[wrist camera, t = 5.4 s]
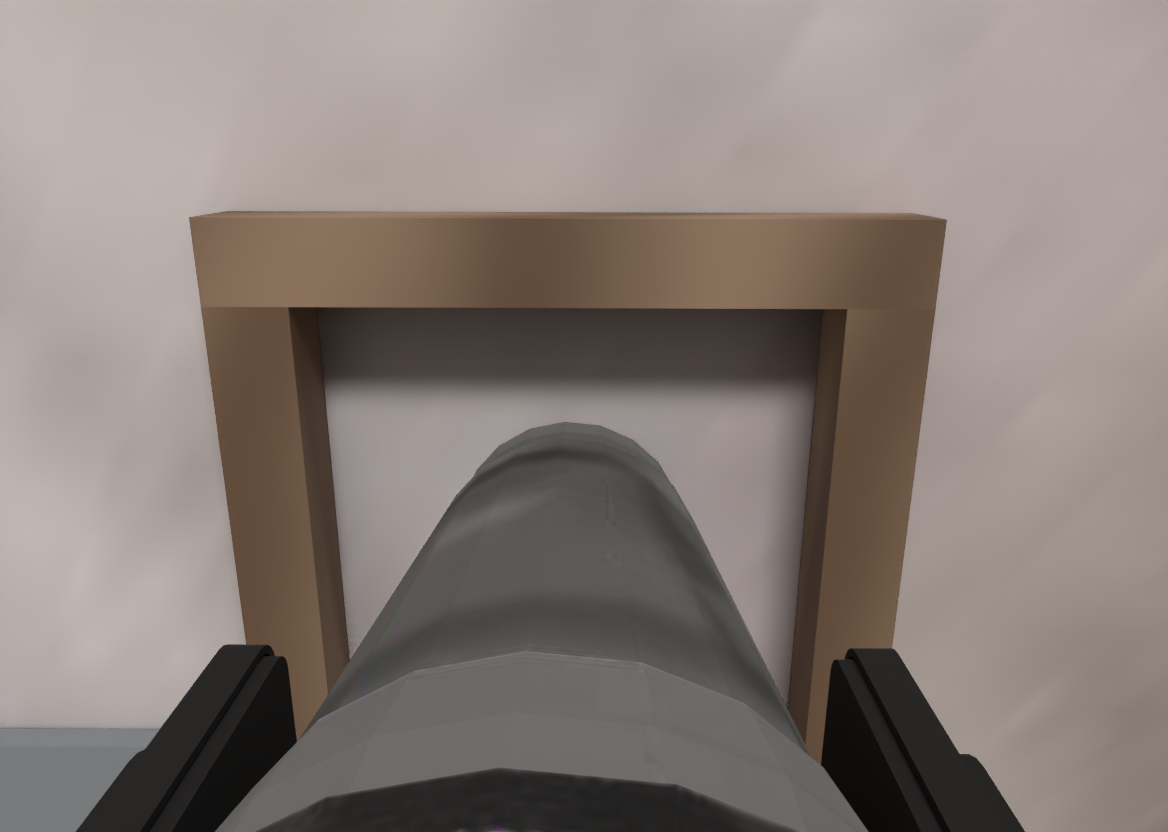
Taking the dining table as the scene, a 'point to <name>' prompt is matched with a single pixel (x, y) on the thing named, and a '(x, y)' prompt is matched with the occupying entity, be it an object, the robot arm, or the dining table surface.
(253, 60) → the dining table surface
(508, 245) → the frame
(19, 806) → the slate mat
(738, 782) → the beverage cup
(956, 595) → the dining table surface
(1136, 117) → the dining table surface
